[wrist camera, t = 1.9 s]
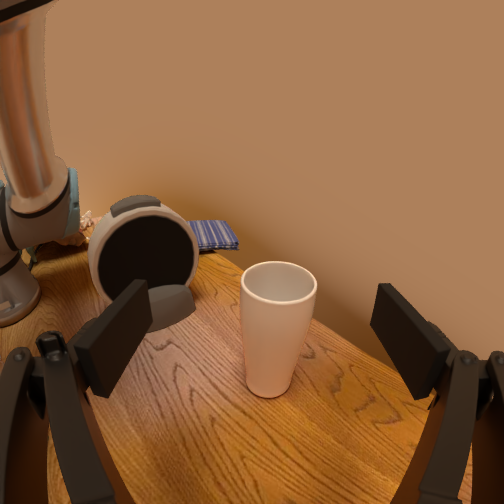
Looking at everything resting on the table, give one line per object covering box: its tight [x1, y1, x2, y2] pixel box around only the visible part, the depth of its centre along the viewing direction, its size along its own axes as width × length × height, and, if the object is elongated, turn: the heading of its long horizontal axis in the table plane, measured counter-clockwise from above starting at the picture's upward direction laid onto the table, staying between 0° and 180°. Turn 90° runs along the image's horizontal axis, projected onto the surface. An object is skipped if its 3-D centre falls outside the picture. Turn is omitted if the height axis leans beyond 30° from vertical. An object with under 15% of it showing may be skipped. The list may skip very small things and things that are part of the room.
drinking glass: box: [239, 261, 317, 398], centre depth 27 cm, size 7×7×15 cm
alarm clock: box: [87, 195, 199, 333], centre depth 37 cm, size 16×10×18 cm, turn 126°
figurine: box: [80, 211, 91, 229], centre depth 71 cm, size 5×12×7 cm
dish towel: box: [186, 220, 239, 251], centre depth 64 cm, size 17×24×3 cm
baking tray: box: [54, 229, 90, 247], centre depth 57 cm, size 30×22×5 cm
